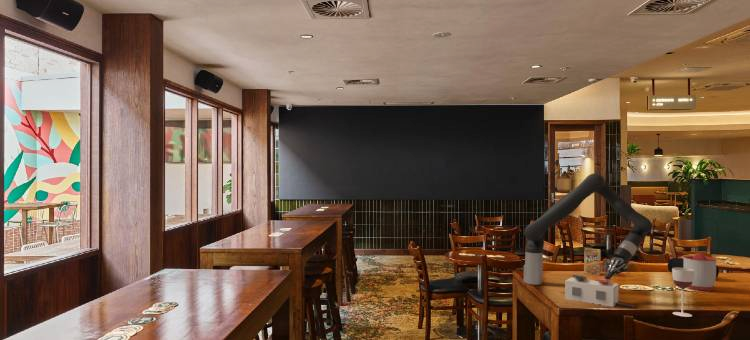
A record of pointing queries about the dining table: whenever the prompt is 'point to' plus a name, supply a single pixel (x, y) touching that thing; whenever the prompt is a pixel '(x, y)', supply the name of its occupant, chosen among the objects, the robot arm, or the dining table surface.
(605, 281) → the red rocker
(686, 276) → the wineglass
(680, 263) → the portable speaker
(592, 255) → the candy box
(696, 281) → the citrus juicer
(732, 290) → the dining table surface
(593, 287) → the switch box
